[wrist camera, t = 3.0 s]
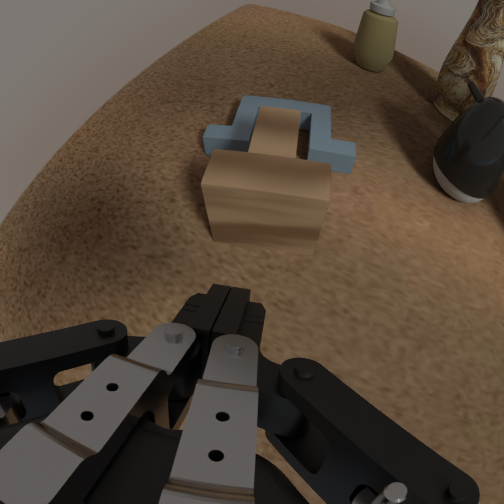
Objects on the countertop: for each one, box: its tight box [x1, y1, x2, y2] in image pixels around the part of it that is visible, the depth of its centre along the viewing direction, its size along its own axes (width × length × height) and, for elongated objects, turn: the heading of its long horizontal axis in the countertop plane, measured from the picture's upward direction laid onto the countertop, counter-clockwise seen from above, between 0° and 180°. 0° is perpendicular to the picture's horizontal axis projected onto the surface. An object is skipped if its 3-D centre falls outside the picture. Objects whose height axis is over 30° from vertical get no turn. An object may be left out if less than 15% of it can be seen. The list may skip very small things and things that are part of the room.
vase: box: [432, 0, 504, 121], centre depth 31 cm, size 10×11×30 cm
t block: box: [201, 106, 331, 256], centre depth 30 cm, size 11×10×9 cm
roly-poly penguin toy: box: [433, 81, 504, 203], centre depth 29 cm, size 10×10×15 cm
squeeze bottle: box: [353, 0, 398, 72], centre depth 42 cm, size 8×8×18 cm
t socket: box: [203, 95, 356, 174], centre depth 38 cm, size 10×18×3 cm, turn 80°
